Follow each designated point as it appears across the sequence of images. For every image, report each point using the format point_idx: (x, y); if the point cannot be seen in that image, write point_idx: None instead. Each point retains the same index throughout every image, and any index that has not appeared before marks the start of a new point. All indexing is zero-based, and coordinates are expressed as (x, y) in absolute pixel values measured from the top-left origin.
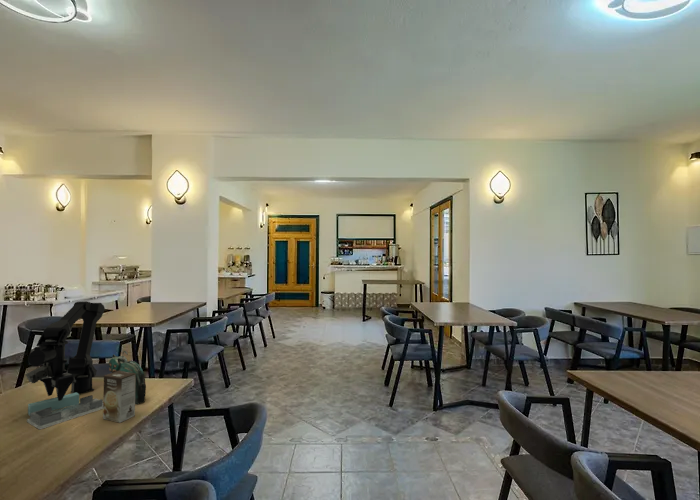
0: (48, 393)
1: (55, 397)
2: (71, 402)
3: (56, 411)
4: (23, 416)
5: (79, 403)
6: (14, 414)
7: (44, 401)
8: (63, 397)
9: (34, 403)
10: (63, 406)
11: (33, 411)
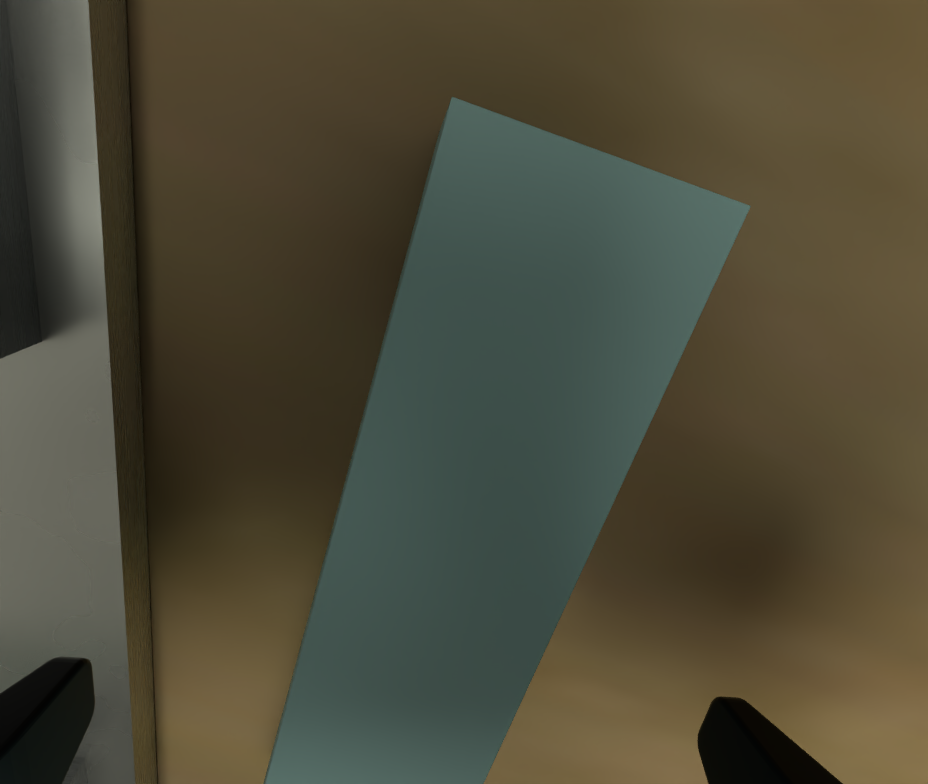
0: (755, 758)
1: (510, 718)
2: (277, 732)
3: (34, 436)
4: (581, 73)
5: (121, 763)
6: (887, 62)
7: (485, 503)
8: (328, 782)
9: (601, 312)
10: (308, 616)
11: (424, 191)
